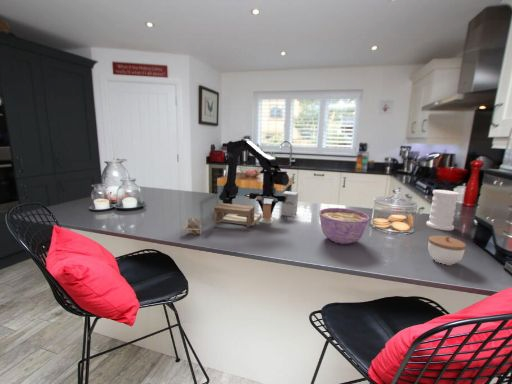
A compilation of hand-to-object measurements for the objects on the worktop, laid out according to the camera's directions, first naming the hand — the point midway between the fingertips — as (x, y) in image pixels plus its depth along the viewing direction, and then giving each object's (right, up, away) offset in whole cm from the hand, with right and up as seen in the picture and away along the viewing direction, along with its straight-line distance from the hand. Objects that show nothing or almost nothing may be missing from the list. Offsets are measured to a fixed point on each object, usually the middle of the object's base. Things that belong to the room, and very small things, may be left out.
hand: (267, 212), depth 134 cm
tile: (0, -4, +1) cm, 4 cm away
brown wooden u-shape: (-16, -4, -9) cm, 19 cm away
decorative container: (+88, -7, -1) cm, 88 cm away
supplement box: (+13, -2, +13) cm, 18 cm away
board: (-13, -3, +2) cm, 14 cm away
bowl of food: (+30, -10, -23) cm, 39 cm away
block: (0, -2, 0) cm, 3 cm away
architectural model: (-33, -8, -20) cm, 39 cm away
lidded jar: (+62, -14, -40) cm, 75 cm away
